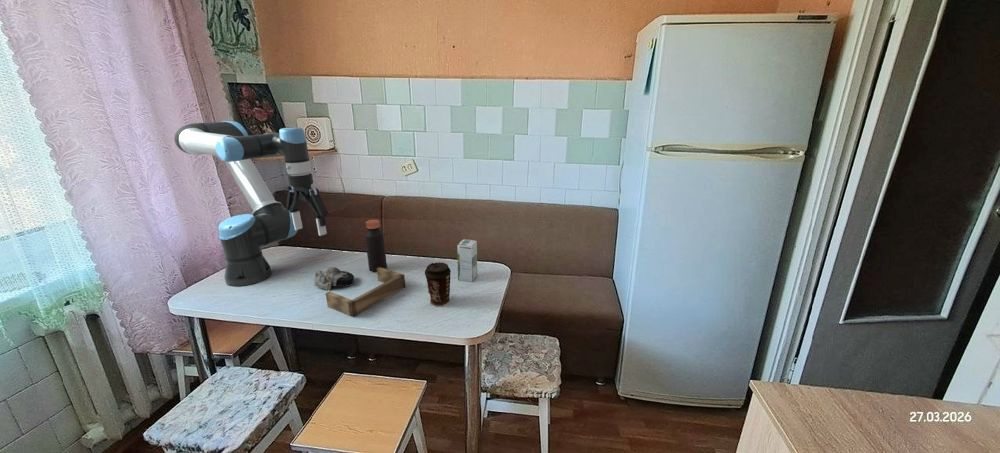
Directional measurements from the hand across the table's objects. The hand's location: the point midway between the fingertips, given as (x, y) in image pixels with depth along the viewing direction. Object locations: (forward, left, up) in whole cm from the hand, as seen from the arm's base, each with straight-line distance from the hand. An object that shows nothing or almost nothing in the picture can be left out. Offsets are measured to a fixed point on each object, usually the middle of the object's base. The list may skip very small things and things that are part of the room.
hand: (310, 231), depth 143 cm
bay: (+27, 0, -19) cm, 32 cm away
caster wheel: (+10, 0, -19) cm, 22 cm away
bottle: (+14, +17, -19) cm, 29 cm away
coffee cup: (+51, +10, -19) cm, 55 cm away
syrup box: (+49, +29, -19) cm, 60 cm away
